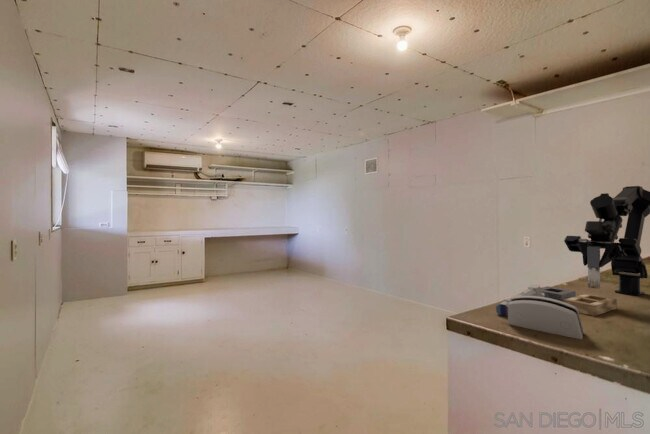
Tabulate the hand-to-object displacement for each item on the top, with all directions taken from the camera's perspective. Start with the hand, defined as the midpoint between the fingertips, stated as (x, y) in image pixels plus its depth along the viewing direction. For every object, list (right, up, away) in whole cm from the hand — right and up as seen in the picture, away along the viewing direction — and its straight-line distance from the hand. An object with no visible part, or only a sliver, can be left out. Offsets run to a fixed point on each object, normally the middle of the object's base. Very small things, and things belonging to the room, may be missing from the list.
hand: (592, 265), depth 104 cm
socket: (-4, -13, +11) cm, 18 cm away
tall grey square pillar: (+1, -7, +1) cm, 7 cm away
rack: (-1, -13, -1) cm, 13 cm away
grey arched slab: (-27, -15, -17) cm, 35 cm away
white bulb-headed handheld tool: (-21, -14, +2) cm, 26 cm away
